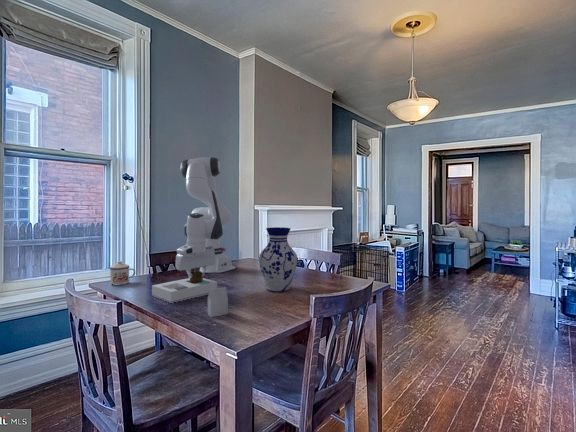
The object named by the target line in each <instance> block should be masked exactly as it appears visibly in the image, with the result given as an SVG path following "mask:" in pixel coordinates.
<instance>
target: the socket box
mask: <svg viewBox="0 0 576 432" xmlns="http://www.w3.org/2000/svg"><path fill="white" fill-rule="evenodd" d="M216 288H218V281H216V280H213V279H208V278H205V277H203V282H200V283H197V284H192V283H190V278H183V279H179V280H173V281H168V282H163V283H158V284H153V285H151V297H152V296H154V297H153V298H155V297H156V298H155V299H157V298H159V299H158V300H160V299H162V300H161V301H163V300H164V301H163V302H165V301H167V302H166V303H168V302H169V303H168V304H170V303H172V304H175V303H174V302H176V303H179V302H178V301H180V302H184V301H186V300H187V299H188V300H190V299H191V298H192V299H194V298H195V297H196V298H199V297H203V296H207V295H208V294H209V289H216ZM183 300H184V301H183Z"/></svg>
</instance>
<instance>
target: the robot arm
mask: <svg viewBox="0 0 576 432" xmlns="http://www.w3.org/2000/svg"><path fill="white" fill-rule="evenodd" d="M179 168H180V173H181V175H182V177H183V178H185V188H186V189H185V190H186V192H187V194H188V195H189V196H190V197H191V198H193V199H195V200H198V201H200V202H201V203H203V204H204V205H206V206H201V207H195V208H193V209H192V211H191V213H190V214H188V215H187V220H186V223H184V236H185V237H186V243H185V244H184V245H182V246H180V247H178V248H177V249H176V253H177V254H176V255H175V266H174V267H175V269H176V270H177V271H181V272H182V271H185V272H186V273H187V276H188V278H193V274H191V272H192V270H193V269H194V268H195V269H200V270H199V271H201V272H202V277H204V276H205V273H217V274H218V273H224V272H228V271H231V270H235V269H236V266H234V265H232V260H231V258H230V257H229V256H227V255H226V254H225V253H224V252H226V251H227V248H226V247H222V246H221V238H222V236H223V234H224V226H225V225H229V224H230V223H231V221H232V217H233V216H232V211H231V210H230V209H229V208H227V207H226V206H225V205H224V204H223V203H222V201H221V200H220V197H219V194H218V188H217V182H216V178H215V177H217V176H218V175H220V173H221V169H222V165H221V162H220V160H219V158H217V157H212V156H211V157H197V158H191V159H184V160H182V162H181V163H180V167H179ZM196 266H197V267H196ZM199 266H200V267H199Z"/></svg>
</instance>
